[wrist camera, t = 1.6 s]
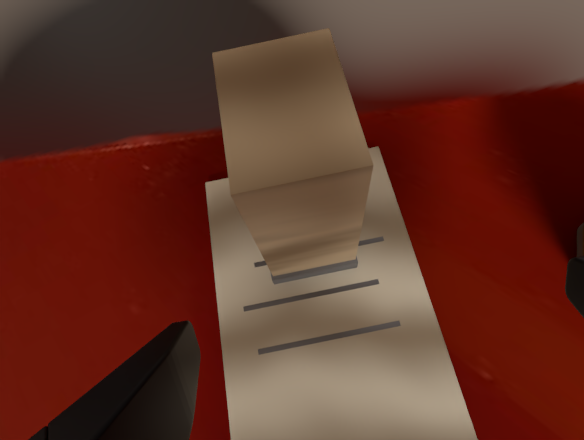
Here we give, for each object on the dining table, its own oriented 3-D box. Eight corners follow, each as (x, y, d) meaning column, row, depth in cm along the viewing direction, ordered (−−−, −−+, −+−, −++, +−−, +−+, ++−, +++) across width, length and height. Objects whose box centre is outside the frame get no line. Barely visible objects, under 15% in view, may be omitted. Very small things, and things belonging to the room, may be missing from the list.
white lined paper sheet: (518, 576, 17) (527, 585, 16) (254, 628, 17) (251, 639, 16) (377, 153, 26) (378, 146, 26) (208, 188, 26) (205, 182, 26)
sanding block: (356, 267, 22) (378, 169, 12) (274, 284, 22) (228, 200, 12) (330, 168, 25) (330, 24, 15) (257, 183, 25) (209, 50, 15)
